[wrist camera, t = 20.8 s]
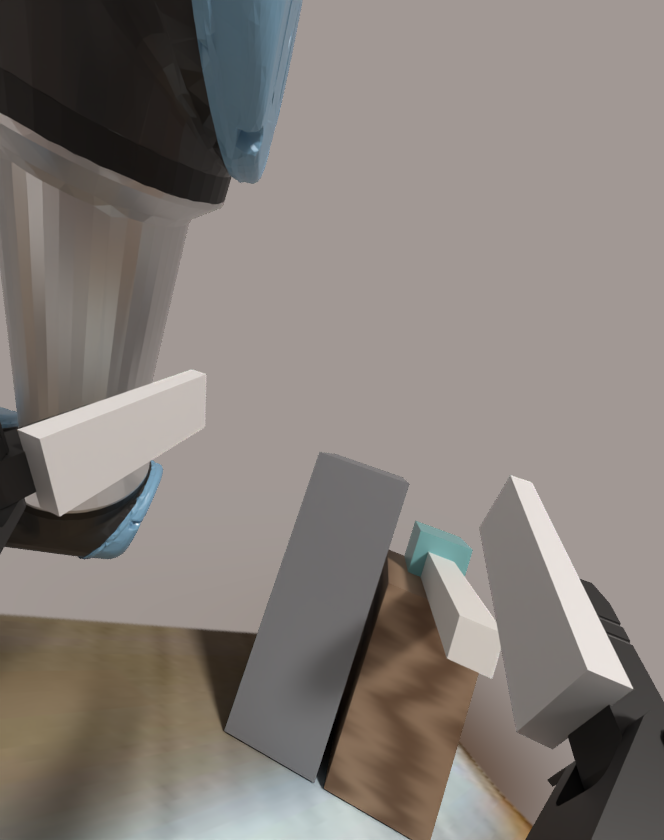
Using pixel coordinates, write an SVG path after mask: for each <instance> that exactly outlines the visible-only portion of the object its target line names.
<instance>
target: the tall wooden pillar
mask: <svg viewBox="0 0 664 840" xmlns="http://www.w3.org/2000/svg"><path fill="white" fill-rule="evenodd" d="M478 674H479V673H478V672H476V671H473V670H471V669H469V668H467V667H465V666H462V665H460V664H458V663H456V662H454V661H451V660H449V659H447V657H446V654H445V651H444V648H443V645H442V642H441V638H440V635H439V632H438V629H437V626H436V623H435V620H434V617H433V614H432V611H431V608H430V604H429V601H428V598H427V595H426V592H425V589H424V586H423V583H422V580H421V577H419V576H417V575H414V574H412V573H409V572H408V570H407V565H406V561H405V557H404V556H403V555H401V554H398V553H396V552H393V551H391V550H388V553H387V556H386V559H385V562H384V565H383V568H382V572H381V575H380V578H379V581H378V584H377V587H376V590H375V594H374V597H373V600H372V603H371V606H370V609H369V612H368V615H367V619H366V622H365V625H364V628H363V631H362V634H361V637H360V641H359V644H358V647H357V650H356V653H355V656H354V659H353V663H352V666H351V669H350V672H349V675H348V678H347V681H346V685H345V688H344V691H343V694H342V697H341V700H340V703H339V708H338V713H337V719H336V724H335V730H334V735H333V741H332V746H331V752H330V757H329V763H328V768H327V774H326V779H325V785H324V789H326V790H327V791H329V792H331V793H332V794H334V795H336V796H338V797H339V798H341V799H343V800H345V801H346V802H348V803H350V804H351V805H353V806H355V807H357V808H358V809H360V810H362V811H364V812H365V813H367V814H369V815H370V816H372V817H374V818H376V819H377V820H379V821H381V822H383V823H384V824H386V825H388V826H389V827H391V828H393V829H395V830H396V831H398V832H400V833H402V834H403V835H405V836H407V837H408V838H410V839H412V840H431V836H432V833H433V829H434V826H435V822H436V819H437V815H438V812H439V808H440V805H441V802H442V798H443V795H444V791H445V788H446V784H447V781H448V777H449V774H450V771H451V767H452V764H453V760H454V757H455V753H456V750H457V746H458V743H459V739H460V736H461V733H462V729H463V726H464V722H465V719H466V715H467V712H468V708H469V705H470V701H471V698H472V695H473V691H474V688H475V684H476V681H477V677H478Z"/></svg>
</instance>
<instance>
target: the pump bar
mask: <svg viewBox="0 0 664 840" xmlns="http://www.w3.org/2000/svg"><path fill="white" fill-rule="evenodd" d="M472 551H473V550H472V549H471V548H470V547H469V546H468V545H467V544H466V543H465V542H464V541H463V540H462V539H461V538H460V537H458V536H455V535H452V534H450V533H447V532H445V531H442V530H439V529H436V528H434V527H431V526H429V525H426V524H423V523H420V522H418V521H415V524H414V527H413V530H412V534H411V537H410V540H409V543H408V546H407V550H406V553H405V556H404V557H405V561H406V565H407V570H408V572H409V573H412V574H414V575H417V576H419V577H421V580H422V583H423V586H424V589H425V592H426V595H427V598H428V601H429V604H430V608H431V611H432V614H433V617H434V620H435V623H436V626H437V629H438V632H439V635H440V638H441V642H442V645H443V648H444V651H445V654H446V657H447V659H449V660H451V661H454V662H456V663H458V664H460V665H462V666H465V667H467V668H469V669H471V670H473V671H476V672H478V673H480V674H482V675H485V676H487V677H489V678H491V679H492V678H493V674H494V671H495V667H496V664H497V660H498V657H499V653H500V650H501V645H500V639H499V634H498V628H497V623H496V621H495V619H494V618H493V617H492V615H491V614H490V612H489V611H488V609H487V608H486V607H485V605H484V604H483V602H482V601H481V599H480V598H479V597H478V595H477V594H476V592H475V591H474V589H473V588H472V587H471V585H470V584H469V582H468V581H467V579H466V578H465V574H466V571H467V567H468V564H469V561H470V557H471V554H472Z"/></svg>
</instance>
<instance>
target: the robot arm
mask: <svg viewBox="0 0 664 840" xmlns="http://www.w3.org/2000/svg"><path fill="white" fill-rule="evenodd" d="M301 6H302V0H0V271H1V279H2V288H3V297H4V305H5V314H6V323H7V331H8V340H9V347H10V357H11V365H12V374H13V383H14V390H15V400H16V408H17V412H15V411H11V410H8V409H5V408H1V407H0V553H1V551H2V550H3V547H10V548H18V549H27V550H33V551H41V552H49V553H56V554H64V555H72V556H78V557H79V558H80V559H81V558H82V559H90V558H101V559H112V558H116V557H118V556H120V555H121V554H122V553H123V552H125V550H126V549H127V548H128V546H129V545H130V543H131V542H132V540H133V538H134V536H135V534H136V533H137V531H138V529H139V526H140V522H142V520H143V518H144V516H145V515H146V513H147V511H148V509H149V506H150V504H151V502H152V500H153V498H154V495H155V493H156V490H157V488H158V486H159V483H160V480H161V477H162V473H163V468H162V466H161V465H160V464H158V463H155V462H154V461H153V459H154V458H156V457H157V456H159V455H161V454H162V453H164V452H166V451H167V450H169V449H170V448H172V447H174V446H175V445H177V444H179V443H180V442H182V441H183V440H185V439H187V438H188V437H189V436H192V435H193V434H195V433H196V432H198V431H200V430H201V429H203V428H204V427H205V408H206V374H204V373H201V372H198V371H195V370H188V371H185V372H183V373H180V374H177V375H174V376H171V377H168V378H165V379H163V380H159V381H157V382H154V383H152V380H153V376H154V372H155V367H156V363H157V359H158V355H159V350H160V346H161V342H162V337H163V333H164V329H165V324H166V320H167V316H168V311H169V307H170V302H171V298H172V294H173V290H174V285H175V281H176V277H177V272H178V268H179V264H180V259H181V255H182V251H183V246H184V241H185V238H186V234H187V229H188V225H189V223H190V221H191V220H192V219H194V218H196V217H199V216H202V215H204V214H207V213H210V212H212V211H215V210H217V209H220V208H221V207H222V206H223V205H224V201H225V197H226V194H227V190H228V187H229V183H230V180H231V176H232V177H233V178H235V179H236V180H238V181H239V182H247V183H251V184H254V183H256V182H258V180H259V179H260V178H261V176H262V173H263V171H264V169H265V165H266V162H267V159H268V155H269V149H270V145H271V142H272V138H273V134H274V130H275V126H276V124H277V119H278V116H279V112H280V107H281V103H282V98H283V94H284V89H285V85H286V80H287V76H288V71H289V65H290V61H291V57H292V52H293V47H294V42H295V37H296V32H297V26H298V21H299V16H300V11H301ZM479 529H480V535H481V540H482V546H483V551H484V557H485V562H486V568H487V573H488V579H489V584H490V590H491V595H492V601H493V606H494V612H495V617H496V623H497V628H498V634H499V639H500V645H501V650H502V656H503V661H504V667H505V672H506V678H507V683H508V689H509V694H510V699H511V705H512V711H513V716H514V721H515V727H516V732H517V733H519V734H521V735H523V736H526V737H528V738H530V739H532V740H534V741H536V742H538V743H540V744H542V745H545V746H547V747H549V748H551V749H554V748H555V747H556V746H558V745H559V744H560V743H562V742H563V741H564V740H566V739H567V738H569V742H570V745H571V749H572V752H573V756H574V759H575V761H574V762H573V763H571V764H570V765H568V766H567V767H565V768H564V769H562V770H561V771H559V772H558V773H556V774H555V775H553V776H552V777H551V778H549V779H548V781H549V783H550V784H551V785H552V786H555V785H556V784H557V785H556V787H555V788H554V790H553V792H552V794H551V795H550V797H549V799H548V801H547V802H546V804H545V806H544V808H543V810H542V811H541V813H540V815H539V817H538V818H537V820H536V822H535V824H534V825H533V827H532V829H531V831H530V832H529V834H528V836H527V838H526V840H664V702H663V700H662V698H661V696H660V694H659V692H658V691H657V689H656V687H655V685H654V683H653V682H652V680H651V678H650V676H649V674H648V672H647V671H646V669H645V667H644V665H643V663H642V662H641V660H640V658H639V656H638V654H637V652H636V651H635V649H634V647H633V645H631V644H630V640H629V638H628V636H627V634H626V632H625V631H624V629H623V628H622V627H620V621H619V620H618V618H617V616H616V614H615V612H614V611H613V609H612V607H611V605H610V603H609V602H608V601H607V600H606V599H605V598H604V596H603V595H602V594H601V593H600V592H599V591H598V590H597V588H596V587H595V586H594V585H593V584H592V583H590V582H587V581H584V580H582V579H579V577H578V575H577V573H576V571H575V569H574V567H573V565H572V563H571V561H570V559H569V557H568V555H567V553H566V551H565V549H564V547H563V545H562V543H561V540H560V539H559V537H558V534H557V532H556V530H555V528H554V526H553V524H552V522H551V520H550V518H549V516H548V514H547V512H546V510H545V508H544V506H543V504H542V502H541V500H540V498H539V496H538V494H537V492H536V490H535V488H534V486H533V484H532V482H529V481H526V480H523V479H520V478H517V477H514V476H510V477H509V479H508V480H507V482H506V484H505V485H504V487H503V489H502V490H501V492H500V494H499V495H498V497H497V499H496V500H495V502H494V504H493V506H492V507H491V509H490V511H489V512H488V514H487V516H486V517H485V519H484V521H483V522H482V524H481V526H480V527H479Z"/></svg>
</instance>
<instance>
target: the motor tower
mask: <svg viewBox="0 0 664 840" xmlns="http://www.w3.org/2000/svg"><path fill="white" fill-rule="evenodd" d="M408 487H409V483H408V482H407V481H406V480H405V479H404V478H403V477H400V476H397V475H394V474H391V473H389V472H386V471H383V470H380V469H377V468H374V467H371V466H368V465H366V464H363V463H360V462H357V461H354V460H351V459H348V458H346V457H342V456H340V455H337V454H330V453H322V452H320V453H319V455H318V458H317V461H316V464H315V467H314V470H313V473H312V475H311V479H310V481H309V485H308V487H307V490H306V493H305V496H304V499H303V502H302V505H301V508H300V511H299V514H298V516H297V519H296V522H295V525H294V529H293V531H292V534H291V537H290V540H289V543H288V546H287V549H286V552H285V554H284V557H283V560H282V563H281V566H280V569H279V572H278V575H277V578H276V581H275V584H274V587H273V590H272V593H271V595H270V598H269V601H268V604H267V607H266V610H265V613H264V616H263V619H262V622H261V625H260V628H259V631H258V633H257V636H256V639H255V642H254V645H253V648H252V651H251V654H250V657H249V660H248V663H247V666H246V669H245V672H244V674H243V677H242V680H241V683H240V686H239V689H238V692H237V695H236V698H235V701H234V704H233V707H232V710H231V712H230V715H229V718H228V721H227V724H226V727H225V730H224V731H225V732H227V733H229V734H231V735H232V736H234V737H236V738H238V739H239V740H241V741H243V742H244V743H246V744H248V745H250V746H251V747H253V748H255V749H256V750H258V751H260V752H262V753H263V754H265V755H267V756H269V757H270V758H272V759H274V760H275V761H277V762H279V763H281V764H282V765H284V766H286V767H288V768H289V769H291V770H293V771H294V772H296V773H298V774H300V775H301V776H303V777H305V778H307V779H308V780H310V781H312V782H313V783H314V782H315V779H316V776H317V772H318V769H319V766H320V763H321V760H322V757H323V754H324V750H325V747H326V744H327V741H328V738H329V735H330V732H331V729H332V725H333V722H334V719H335V716H336V713H337V710H338V707H339V703H340V700H341V697H342V694H343V691H344V688H345V685H346V681H347V678H348V675H349V672H350V669H351V666H352V663H353V659H354V656H355V653H356V650H357V647H358V644H359V641H360V637H361V634H362V631H363V628H364V625H365V622H366V619H367V615H368V612H369V609H370V606H371V603H372V600H373V597H374V594H375V590H376V587H377V584H378V581H379V578H380V575H381V572H382V568H383V565H384V562H385V559H386V556H387V553H388V550H389V546H390V543H391V540H392V537H393V534H394V530H395V528H396V524H397V521H398V518H399V515H400V512H401V509H402V505H403V502H404V499H405V496H406V493H407V490H408Z"/></svg>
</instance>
